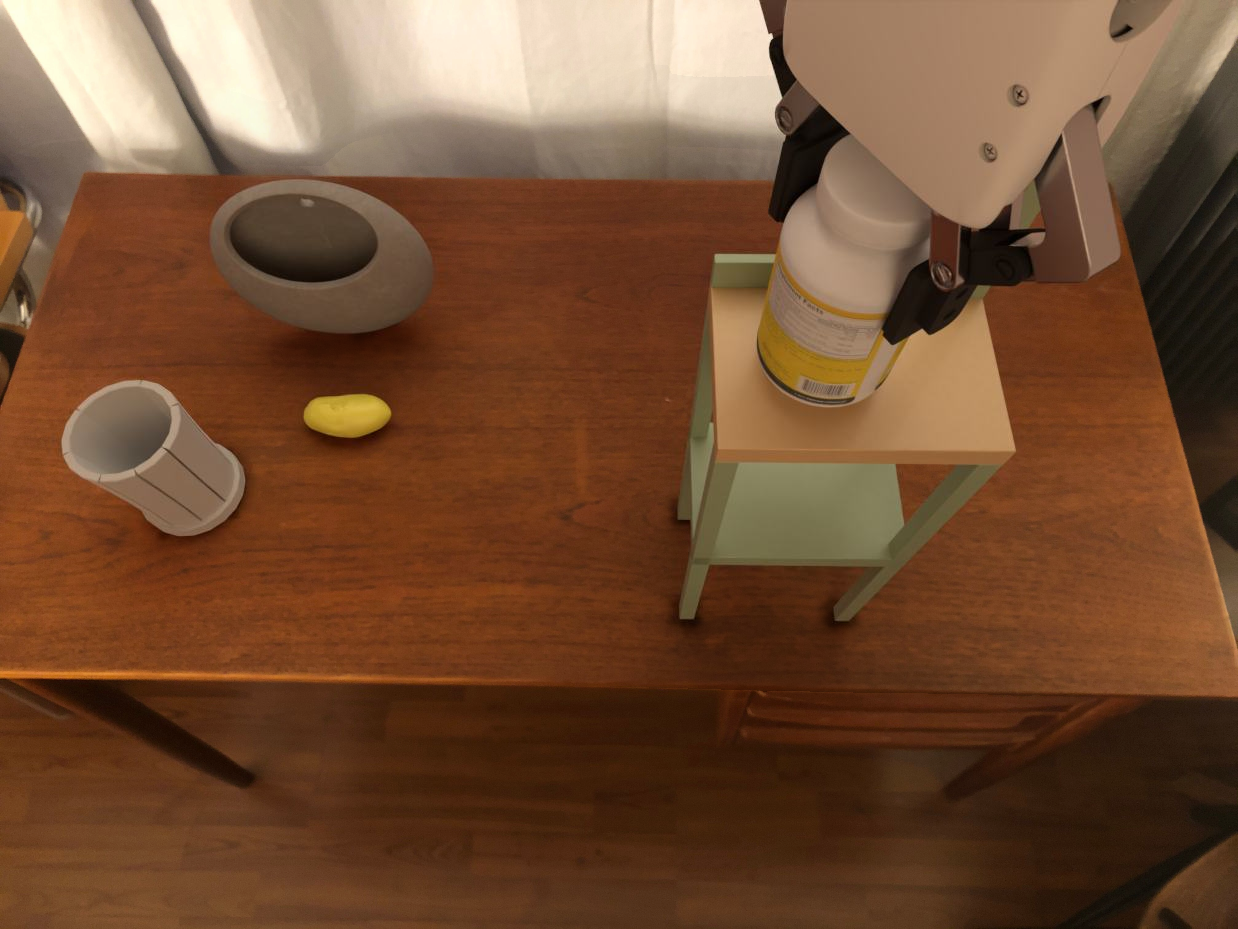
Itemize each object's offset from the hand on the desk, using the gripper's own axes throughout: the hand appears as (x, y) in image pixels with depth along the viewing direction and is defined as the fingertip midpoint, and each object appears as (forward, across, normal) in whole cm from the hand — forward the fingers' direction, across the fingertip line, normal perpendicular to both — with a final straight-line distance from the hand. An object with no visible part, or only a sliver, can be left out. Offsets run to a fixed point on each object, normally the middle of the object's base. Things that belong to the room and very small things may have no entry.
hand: (856, 260), depth 32 cm
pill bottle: (+7, 0, 0) cm, 7 cm away
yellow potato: (+40, +30, +22) cm, 55 cm away
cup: (+40, +32, +37) cm, 63 cm away
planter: (+40, +40, +17) cm, 59 cm away
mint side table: (+39, -1, -2) cm, 40 cm away
